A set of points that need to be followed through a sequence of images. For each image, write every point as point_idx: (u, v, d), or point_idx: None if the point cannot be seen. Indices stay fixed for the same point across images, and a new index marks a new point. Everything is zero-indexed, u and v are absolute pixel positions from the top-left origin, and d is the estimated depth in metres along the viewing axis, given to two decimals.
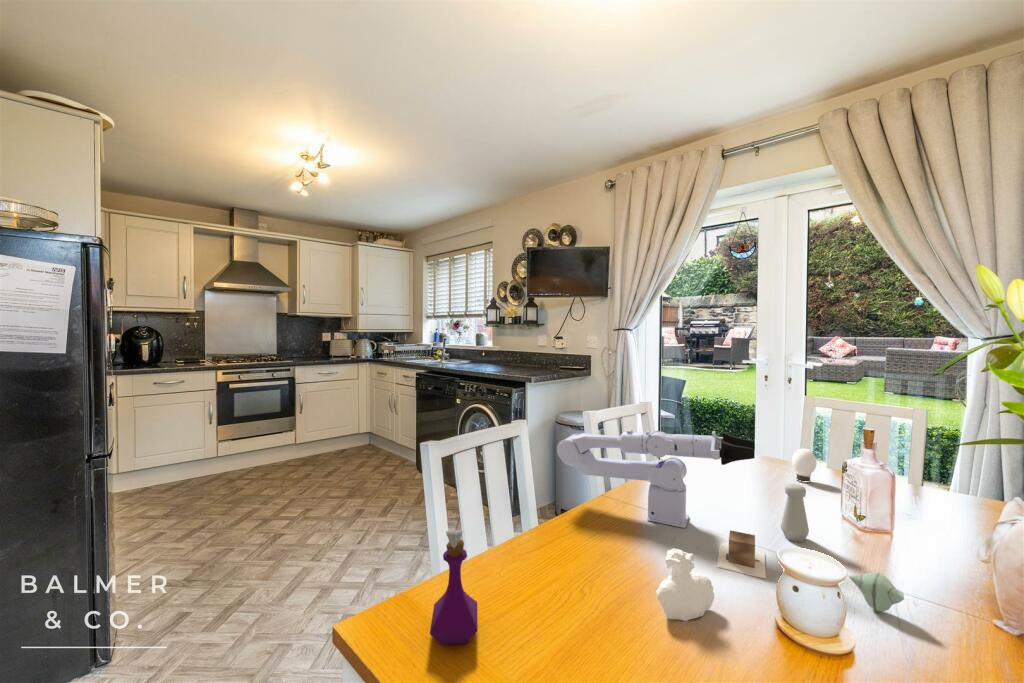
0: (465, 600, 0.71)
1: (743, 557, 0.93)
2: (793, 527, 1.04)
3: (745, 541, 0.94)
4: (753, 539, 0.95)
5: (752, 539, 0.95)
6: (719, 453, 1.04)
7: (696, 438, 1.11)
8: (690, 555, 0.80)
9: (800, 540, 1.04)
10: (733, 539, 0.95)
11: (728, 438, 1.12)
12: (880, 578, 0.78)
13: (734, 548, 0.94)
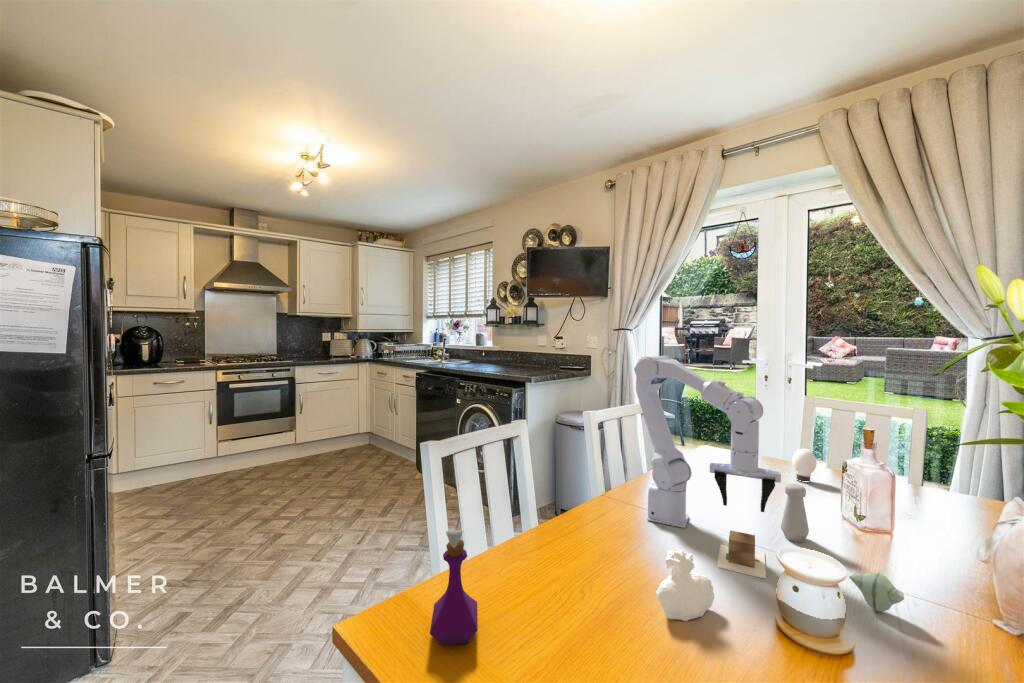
0: (465, 600, 0.71)
1: (743, 557, 0.93)
2: (793, 527, 1.04)
3: (745, 541, 0.94)
4: (753, 539, 0.95)
5: (752, 539, 0.95)
6: None
7: (736, 454, 1.00)
8: (690, 555, 0.80)
9: (800, 540, 1.04)
10: (733, 539, 0.95)
11: (762, 487, 0.98)
12: (880, 578, 0.78)
13: (734, 548, 0.94)
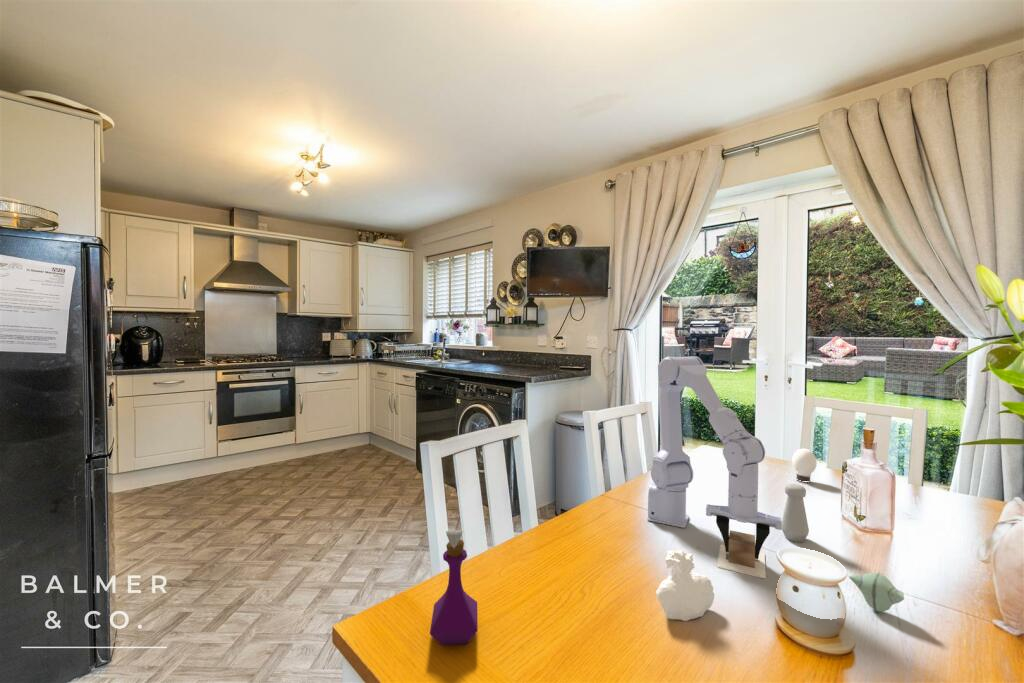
0: (465, 600, 0.71)
1: (743, 557, 0.93)
2: (793, 527, 1.04)
3: (745, 541, 0.94)
4: (753, 539, 0.95)
5: (752, 539, 0.95)
6: None
7: (734, 498, 0.94)
8: (690, 555, 0.80)
9: (800, 540, 1.04)
10: (733, 539, 0.95)
11: (756, 533, 0.93)
12: (880, 578, 0.78)
13: (734, 548, 0.94)
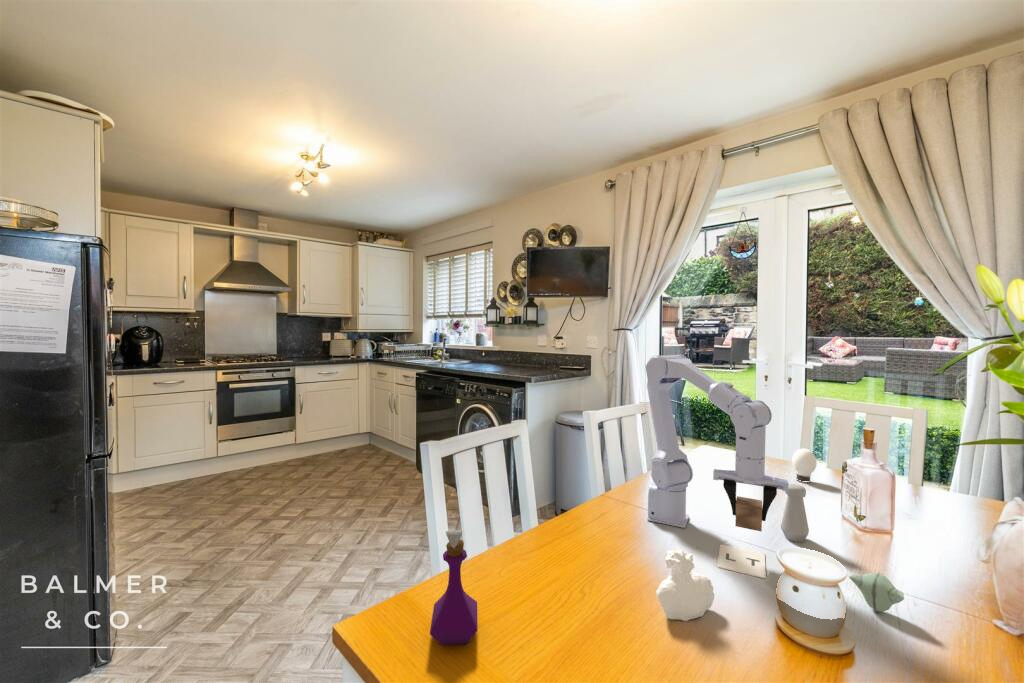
0: (465, 600, 0.71)
1: (749, 521, 0.94)
2: (793, 527, 1.04)
3: (752, 505, 0.95)
4: (760, 503, 0.95)
5: (759, 503, 0.95)
6: None
7: (741, 461, 0.95)
8: (690, 555, 0.80)
9: (800, 540, 1.04)
10: (740, 503, 0.96)
11: (763, 495, 0.94)
12: (880, 578, 0.78)
13: (741, 512, 0.95)
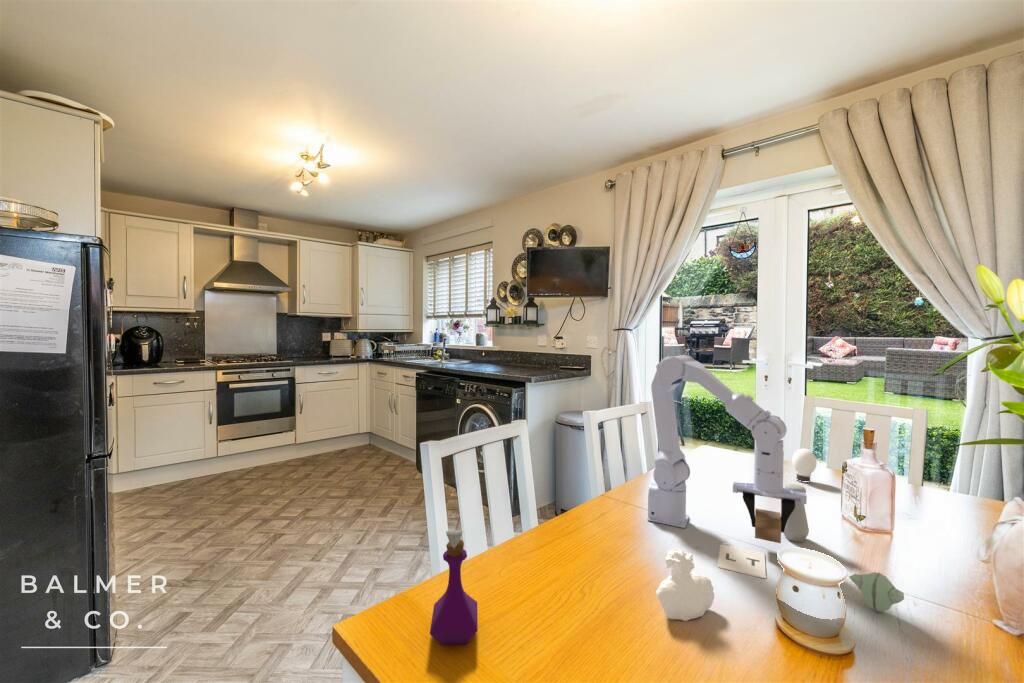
0: (465, 600, 0.71)
1: (769, 533, 0.98)
2: (793, 527, 1.04)
3: (771, 517, 0.98)
4: (779, 516, 0.99)
5: (778, 516, 0.99)
6: None
7: (760, 475, 0.99)
8: (690, 555, 0.80)
9: (800, 540, 1.04)
10: (759, 516, 0.99)
11: (782, 507, 0.97)
12: (880, 578, 0.78)
13: (760, 524, 0.98)
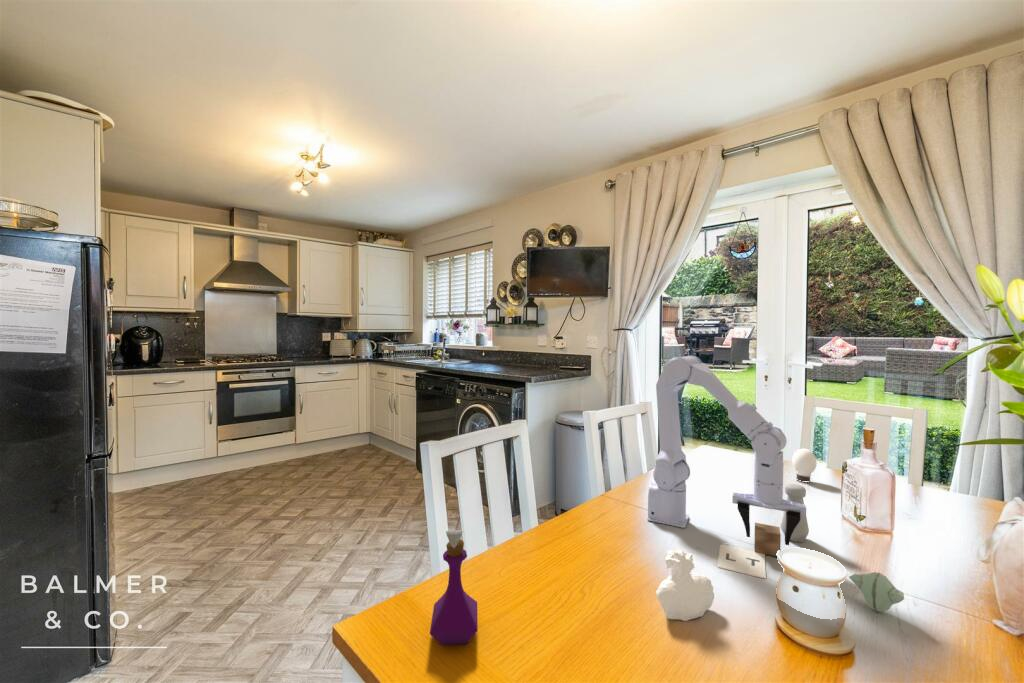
0: (465, 600, 0.71)
1: (768, 547, 0.98)
2: None
3: (770, 531, 0.99)
4: (778, 530, 0.99)
5: (777, 530, 0.99)
6: None
7: (760, 486, 0.99)
8: (690, 555, 0.80)
9: (800, 540, 1.04)
10: (759, 530, 0.99)
11: (787, 520, 0.97)
12: (880, 578, 0.78)
13: (760, 538, 0.99)
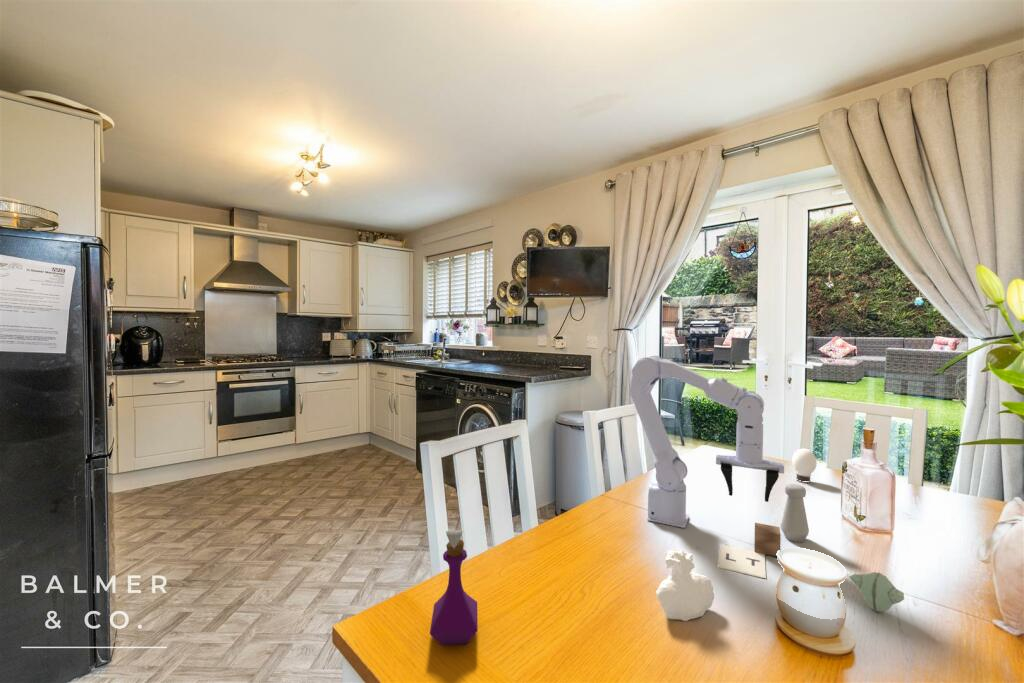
0: (465, 600, 0.71)
1: (768, 547, 0.98)
2: (793, 527, 1.04)
3: (770, 531, 0.99)
4: (778, 530, 0.99)
5: (777, 530, 0.99)
6: None
7: (741, 446, 1.05)
8: (690, 555, 0.80)
9: (800, 540, 1.04)
10: (759, 530, 0.99)
11: (766, 478, 1.03)
12: (880, 578, 0.78)
13: (760, 538, 0.99)
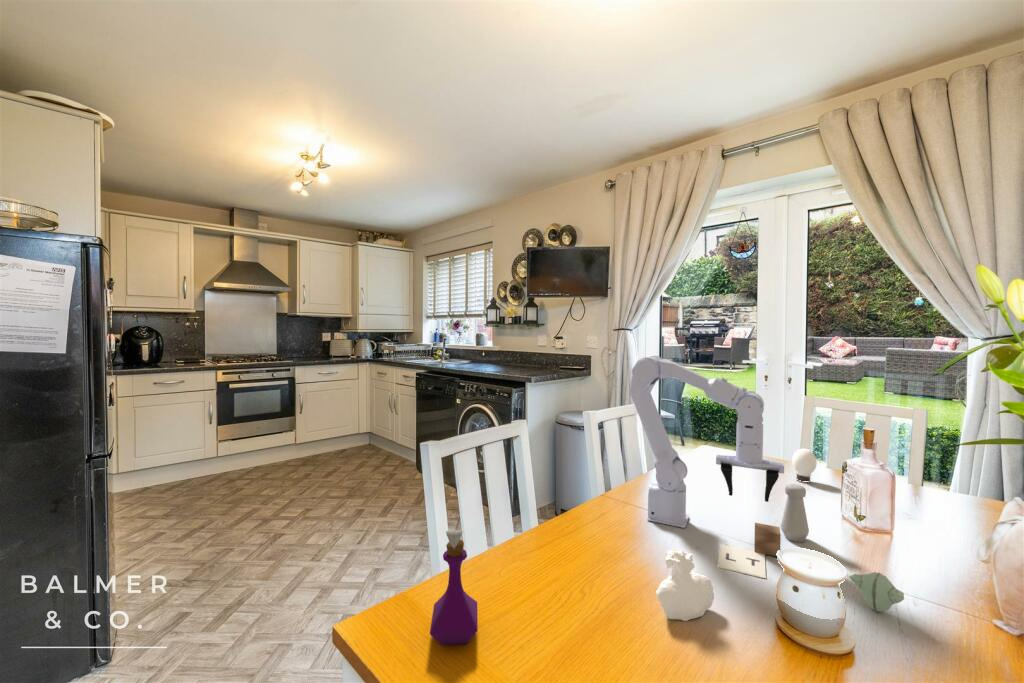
0: (465, 600, 0.71)
1: (768, 547, 0.98)
2: (793, 527, 1.04)
3: (770, 531, 0.99)
4: (778, 530, 0.99)
5: (777, 530, 0.99)
6: None
7: (741, 446, 1.05)
8: (690, 555, 0.80)
9: (800, 540, 1.04)
10: (759, 530, 0.99)
11: (766, 478, 1.03)
12: (880, 578, 0.78)
13: (760, 538, 0.99)
